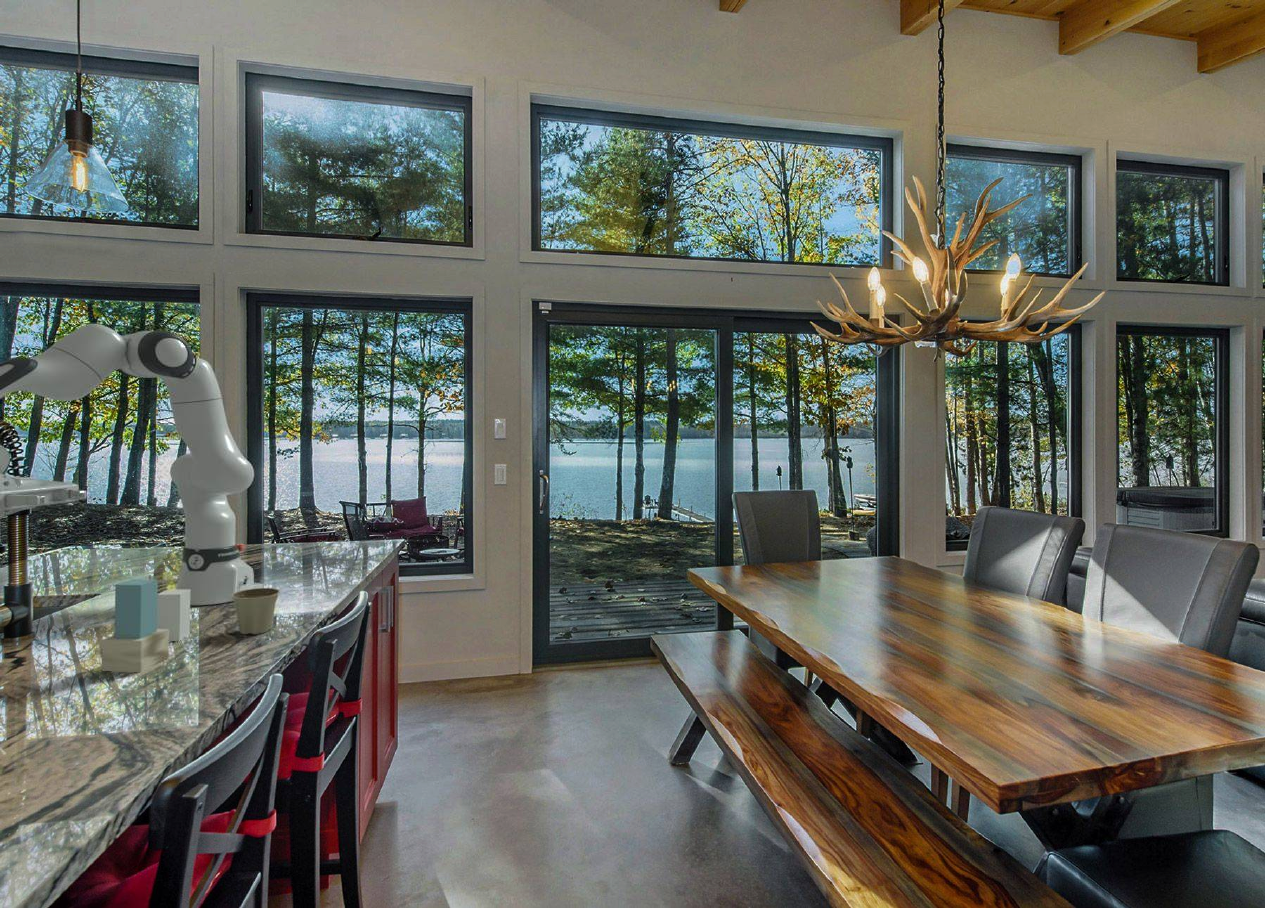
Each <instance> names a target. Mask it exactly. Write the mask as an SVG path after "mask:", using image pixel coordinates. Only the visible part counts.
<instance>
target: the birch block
mask: <svg viewBox="0 0 1265 908" xmlns="http://www.w3.org/2000/svg"><path fill="white" fill-rule="evenodd" d="M169 644H170V643H169V629H157V631H156V632H154V633H152V634H150V635H147V636H145V637H143V638H141V639H122V638H115V634H114V635H112V636H109V637H107V638H105V639H102V657H101V660H102V662H101V670H102V671H112V672H111V673H134V672H141V673H143V672H145V671H147V670H149V669H151V668H150V667H152V666H154V665H156V666H157V664H158V663H160V664H162V663H164V662H165V661H164V660H166V661H168V660H169V654H170V653H169V652H170V651H169V650H170V649H169V648H170V645H169ZM167 659H168V660H167ZM163 661H164V662H163ZM161 662H162V663H161ZM158 665H159V664H158ZM154 667H155V666H154ZM148 668H149V669H148ZM152 668H153V667H152ZM144 670H145V671H144ZM102 671H101V672H102ZM114 671H116V672H114ZM123 671H124V672H123ZM142 671H143V672H142Z"/></svg>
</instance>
